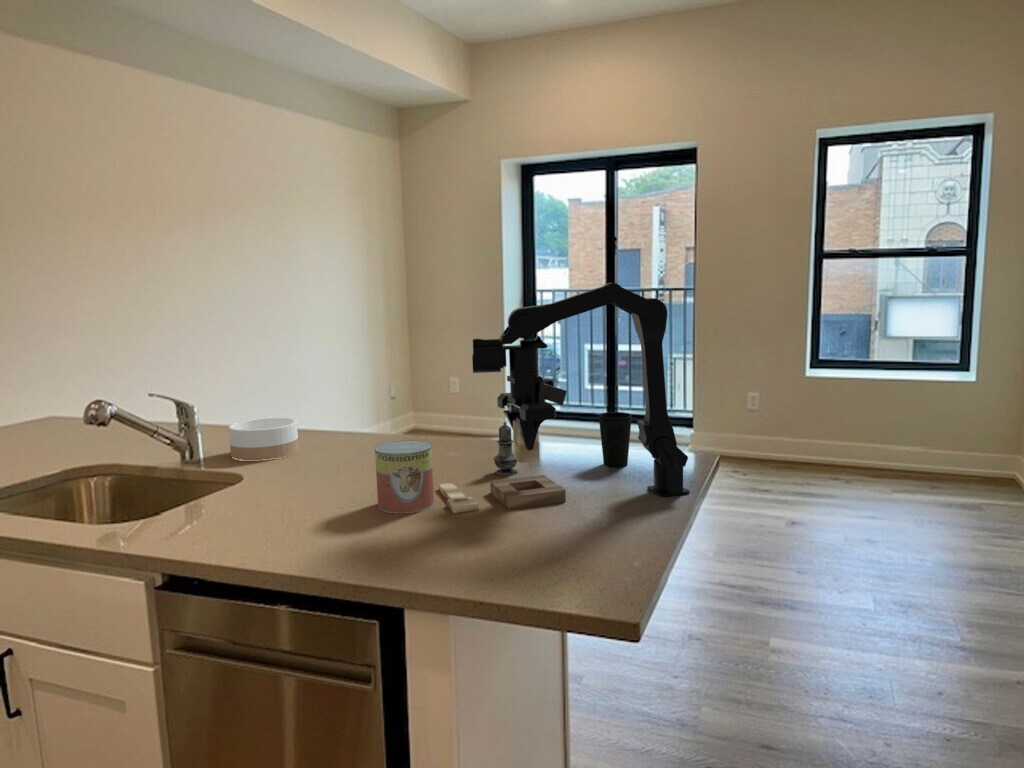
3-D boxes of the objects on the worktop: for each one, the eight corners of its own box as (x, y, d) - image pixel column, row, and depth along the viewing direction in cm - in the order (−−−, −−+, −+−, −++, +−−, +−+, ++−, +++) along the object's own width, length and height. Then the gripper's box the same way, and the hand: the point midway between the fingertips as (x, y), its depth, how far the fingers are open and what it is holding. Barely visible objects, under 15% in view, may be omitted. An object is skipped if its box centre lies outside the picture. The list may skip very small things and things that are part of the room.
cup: (631, 460, 175) (630, 411, 173) (633, 468, 167) (632, 417, 166) (598, 460, 176) (598, 412, 174) (599, 468, 168) (599, 418, 167)
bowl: (216, 460, 188) (213, 429, 186) (257, 446, 204) (255, 416, 203) (273, 463, 183) (271, 431, 181) (311, 448, 199) (309, 418, 198)
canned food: (380, 516, 138) (377, 455, 137) (375, 500, 149) (372, 443, 147) (438, 510, 141) (436, 450, 140) (429, 494, 152) (427, 438, 150)
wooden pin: (539, 460, 146) (538, 421, 144) (520, 463, 144) (519, 423, 143) (532, 456, 149) (531, 418, 148) (514, 458, 148) (512, 420, 147)
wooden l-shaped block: (478, 509, 141) (478, 504, 140) (453, 513, 139) (453, 507, 139) (456, 487, 157) (456, 481, 156) (434, 489, 155) (434, 484, 155)
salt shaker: (516, 476, 164) (514, 424, 162) (490, 475, 165) (489, 424, 163) (521, 469, 170) (519, 419, 168) (496, 469, 171) (495, 419, 169)
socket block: (565, 501, 144) (565, 489, 144) (508, 509, 140) (508, 496, 140) (544, 486, 155) (543, 474, 155) (490, 492, 152) (490, 481, 151)
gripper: (580, 373, 138) (581, 453, 140) (544, 363, 155) (546, 435, 158) (525, 377, 134) (527, 459, 137) (495, 367, 152) (498, 440, 154)
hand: (526, 447), depth 146 cm, fingers closed on wooden pin, 4 cm apart
